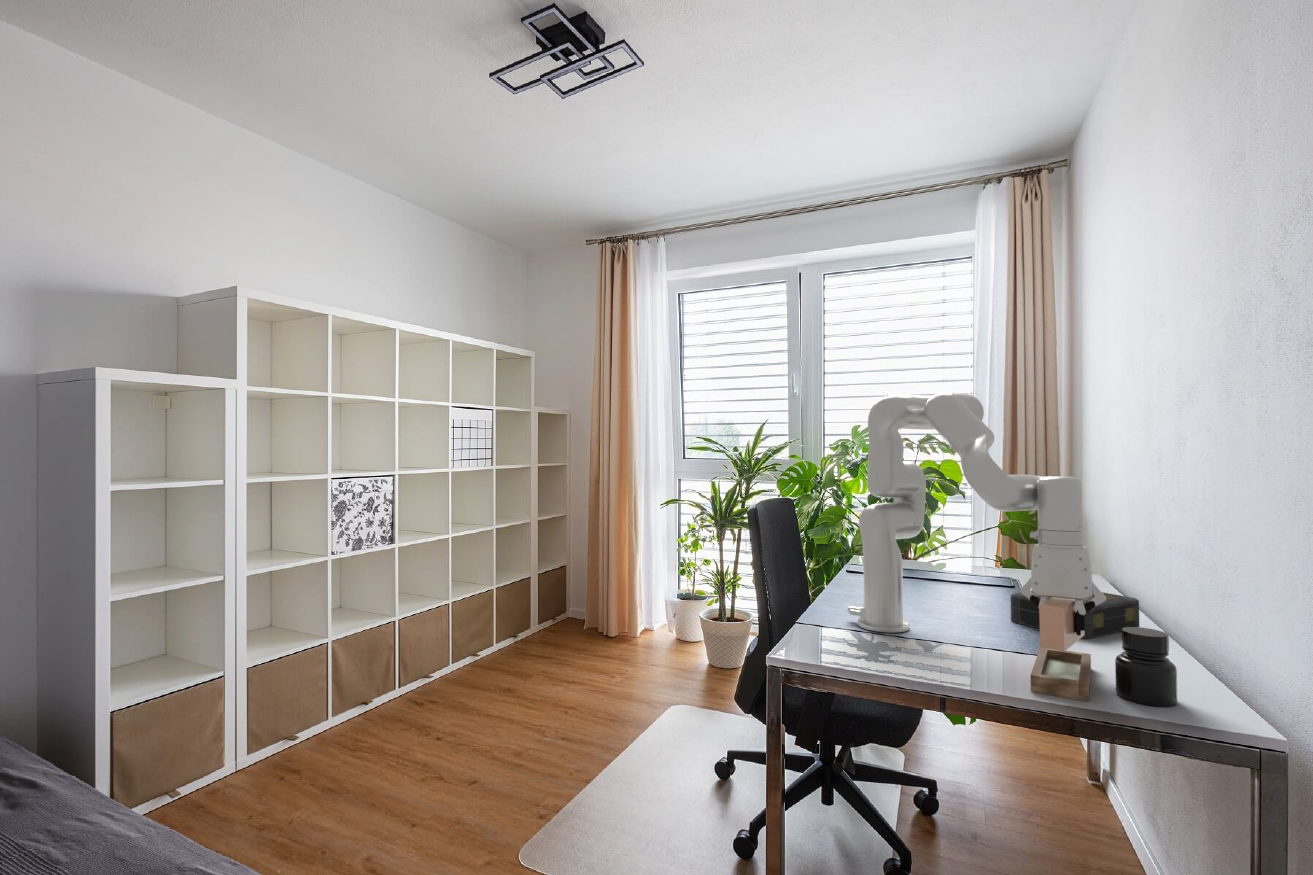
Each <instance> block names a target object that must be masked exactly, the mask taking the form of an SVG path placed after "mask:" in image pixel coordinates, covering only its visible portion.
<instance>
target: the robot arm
mask: <svg viewBox="0 0 1313 875" xmlns="http://www.w3.org/2000/svg"><path fill="white" fill-rule="evenodd" d="M984 416H985V412H984V406H983V403H982V402H981V401H980V400H979V399H978V397H976V396H974V395H972V394H969V393H959V392H958V393H956V392H939V393H936V394H933V395H932V396H925V395H913V394H891V395H887V396H884V397H881V398H880V399H878V400H877V401H876V402H874V404H873V405H872V407H871V408H870V410H869V413H868V416H867V417H868V418H867V433H868V453H867V454H868V456H867V473H866V475H867V476H866V477H867V478H866V484H867V490H868V492H869V493H870V494H871V496H873V497H875V498H879V499H893V502H878V503H872V504H870V505H868V506H866V507H865V508H863V509H862V511H861V512H860V514H859V519H858V526H859V532H860V536H861V537H860V538H861V542H862V558H863V559H862V561H863V562H862V564H863V606H860V607H857V606H853V605H849V606H848V608H847V612H848V614H850V616H851V615H852V616H858V617H859V618H858V619H857V626H859V627H860V628H862V629H864V630H868V631H871V632H879V633H887V634H888V633H895V634H896V633H903V632H907V631H909V630H910V623H909V622H908V621H906V620H904V606H903V605H904V604H903V603H904V592H903V590H904V586H903V585H904V584H903V583H904V582H903V581H904V580H903V577H904V576H903V571H904V570H903V568H904V567H903V557H902V556H903V555H902V552H901V549H900V547H899V545H898V543H897V540H903V539H905V540H906V539H912V538H915V537H917V536H918V535H919V534H920V532H922V530H923V527H924V523H925V516H926V513H925V512H926V494H927V482H926V477H925V476H926V475H925V473H924V471H923V469H922V468H921V467H920V466H919V465H918V464H916V463H914V462H911V461H904V448H905V446H904V443H903V442H904V441H903V438H902V436H901V434H900V432H899V430H902V429H905V430H906V429H907V430H925V431H926V430H928V431H930V430H936V431H937V432H938V434H939V435H940V436H941V437H942V439H944V440H945V442H947V444H949V446H950V447H951V448H952V450H954V451H955V452H956V453H957V454H958V456H959V457H960V464H961V469H962V472H963V475H964V478H965V480H966V481H967V483H968V484H969V486H970V487H971V488H972V489H973V491H975V493H976V494H977V495H978V496H979V497H980V498H981V499H982V500H983V502H985V503H986V504H987V505H988V506H989V507H991V508H993V509H994V510H997V511H1000V512H1004V513H1005V512H1007V513H1009V512H1010V513H1011V512H1018V511H1019V512H1027V511H1037V530H1034V531H1029V538H1030V539H1034V540H1036V541H1037V542H1038V543H1035V544H1034V545H1033V547H1032V554H1031V568H1030V569H1031V570H1030V578H1029V579H1028V580H1027V581H1026V582H1025V583H1024V585H1023V586H1022V587H1021V588H1020V590H1019V593H1022V594H1023V595H1024V596H1026V597H1027V598H1029V599H1030V600H1031V601H1032V602H1033V603H1034V604H1035V605H1036V606H1037V607H1038V608H1039V605H1040V604H1042V603H1043V602H1045V601H1047V600H1048V598H1049V597H1054V598H1064V599H1075V602H1076V605H1077V613H1076V635H1079V636H1081V631H1085V614H1086V613H1087V612H1088V611H1090V610H1091V609H1092V608H1094V607H1095V606H1097V605H1099V604H1101V603H1103V602H1104V601H1106V597H1105V596H1104V594H1103V593H1104V592H1103V591H1101V590H1100V589H1099V586H1097V585H1096V584H1095V583H1094V582H1093V572H1092V563H1091V557H1090V552H1089V548H1088V547H1087V546H1084V533H1083V532H1084V531H1083V528H1084V527H1083V498H1082V496H1083V495H1082V494H1083V493H1082V484H1081V480H1080V479H1079V478H1077V477H1074V476H1065V475H1064V476H1062V475H1061V476H1059V475H1058V476H1057V475H1052V476H1041V475H1035V474H1007V473H1006V472H1005V471H1004V470H1003V469H1002V468H1001V467H1000V466H999V465H998V464H997V463H996V462H995V461H994V459H993V458H992V457H991V455H990V453H989V450H990V448H991V447H992V446H993V445H994V442H995V433H994V432H993V431H992V430H991V428H989V427H988V426H987V425H986V424H985V422H983V419H984ZM1031 591H1032V592H1033V593H1034V594H1033V593H1032V592H1031ZM1102 592H1103V593H1102ZM1092 593H1093V594H1094V595H1095V598H1093V599H1091V600H1089V601H1088V602H1086V603H1085V604H1084V600H1087V599H1090V598H1091V596H1092ZM1035 594H1036V595H1039V596H1041V599H1040V598H1039V597H1037V596H1036V595H1035Z"/></svg>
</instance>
